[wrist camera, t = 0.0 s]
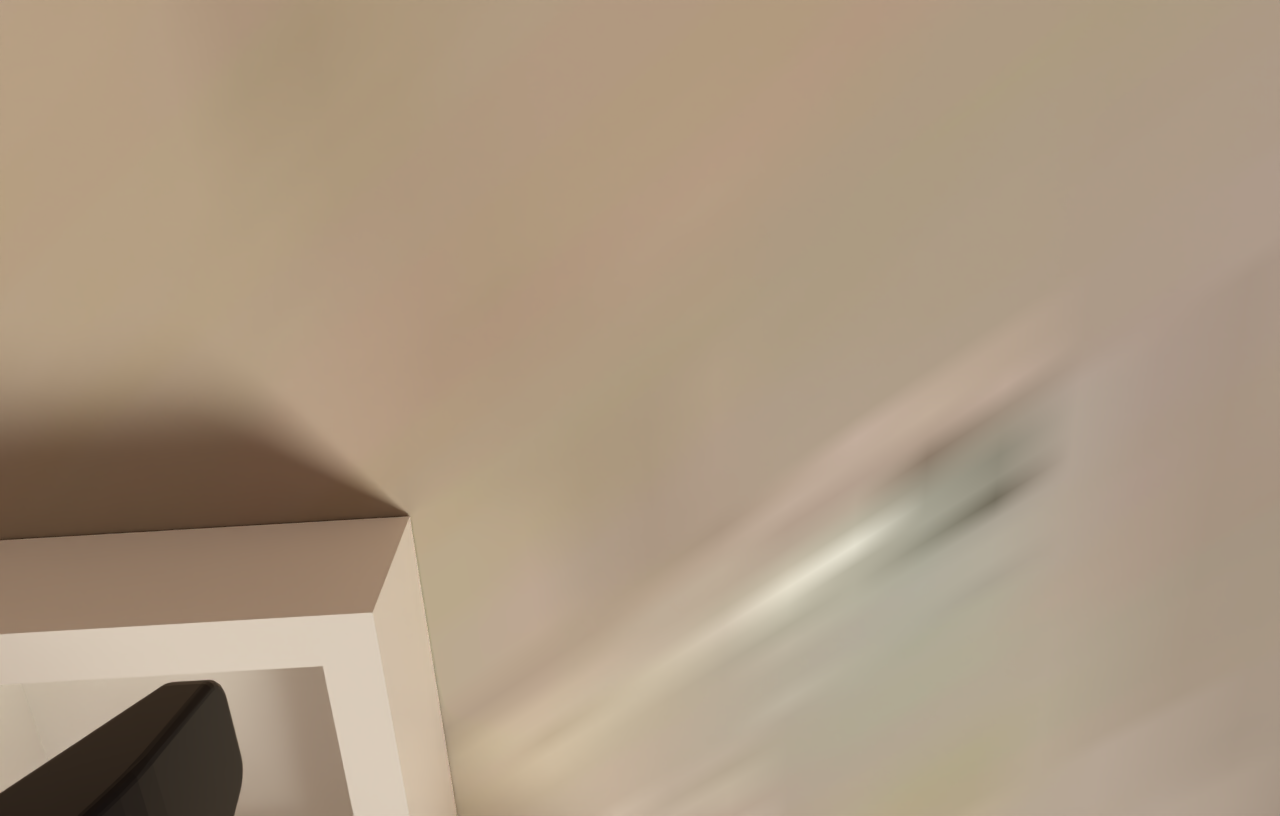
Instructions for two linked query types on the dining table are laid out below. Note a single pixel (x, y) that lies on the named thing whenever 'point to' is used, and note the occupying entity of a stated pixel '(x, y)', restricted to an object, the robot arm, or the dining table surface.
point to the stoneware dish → (236, 655)
